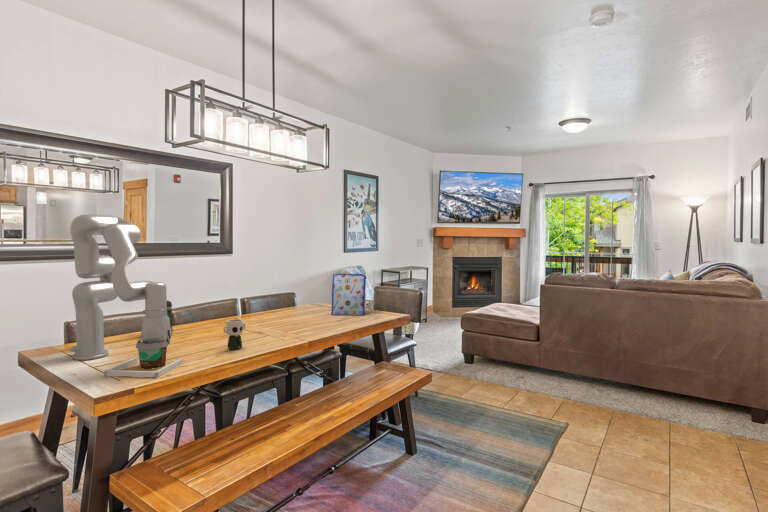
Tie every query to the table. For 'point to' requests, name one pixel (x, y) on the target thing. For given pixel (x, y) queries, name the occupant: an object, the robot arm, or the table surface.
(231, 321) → the cream and green figurine
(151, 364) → the food container
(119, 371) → the grey u-shaped frame
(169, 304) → the coffee jar
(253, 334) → the table surface
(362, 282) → the lunch bag
